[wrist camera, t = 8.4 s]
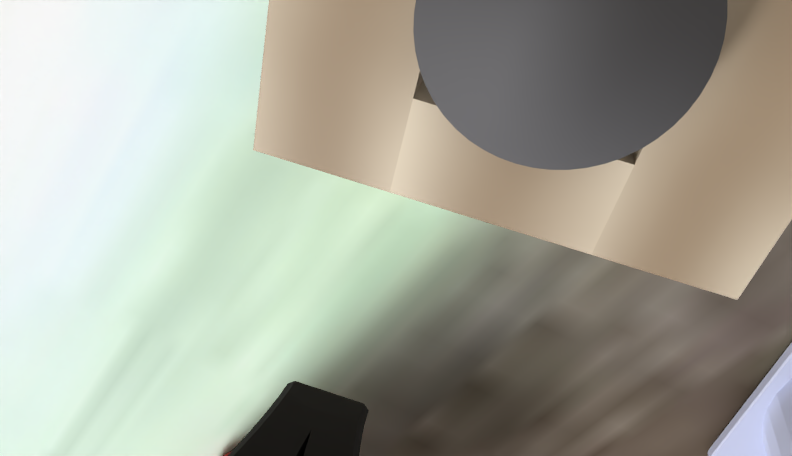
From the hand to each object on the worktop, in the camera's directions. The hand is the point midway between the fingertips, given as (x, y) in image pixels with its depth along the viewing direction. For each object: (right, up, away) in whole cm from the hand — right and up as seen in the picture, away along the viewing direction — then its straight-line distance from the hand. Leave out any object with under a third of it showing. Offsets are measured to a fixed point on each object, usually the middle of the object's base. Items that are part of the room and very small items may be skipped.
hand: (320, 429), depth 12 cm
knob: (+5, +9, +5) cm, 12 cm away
